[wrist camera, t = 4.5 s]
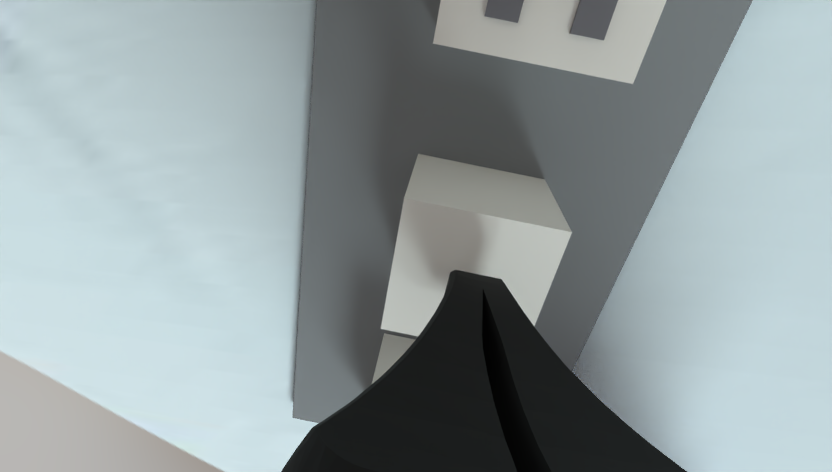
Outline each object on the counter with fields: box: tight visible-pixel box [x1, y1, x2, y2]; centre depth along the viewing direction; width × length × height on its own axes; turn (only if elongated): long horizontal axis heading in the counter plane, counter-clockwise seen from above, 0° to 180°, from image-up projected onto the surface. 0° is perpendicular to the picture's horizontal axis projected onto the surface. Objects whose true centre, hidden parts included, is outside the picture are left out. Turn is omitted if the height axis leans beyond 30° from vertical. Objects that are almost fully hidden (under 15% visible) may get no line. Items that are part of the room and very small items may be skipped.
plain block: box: [381, 154, 572, 336], centre depth 14 cm, size 4×4×4 cm
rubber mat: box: [293, 0, 752, 423], centre depth 16 cm, size 25×12×1 cm, turn 170°
